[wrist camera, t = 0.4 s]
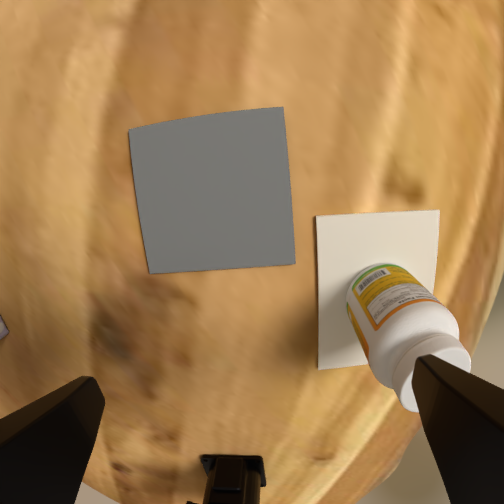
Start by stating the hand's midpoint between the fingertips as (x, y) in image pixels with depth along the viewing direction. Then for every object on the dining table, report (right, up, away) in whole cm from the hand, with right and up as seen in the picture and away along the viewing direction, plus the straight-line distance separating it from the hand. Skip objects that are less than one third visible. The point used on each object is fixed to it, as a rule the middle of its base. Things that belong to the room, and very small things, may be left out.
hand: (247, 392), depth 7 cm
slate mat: (-3, +7, +12) cm, 14 cm away
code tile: (+9, +1, +14) cm, 16 cm away
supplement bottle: (+9, 0, +14) cm, 16 cm away
